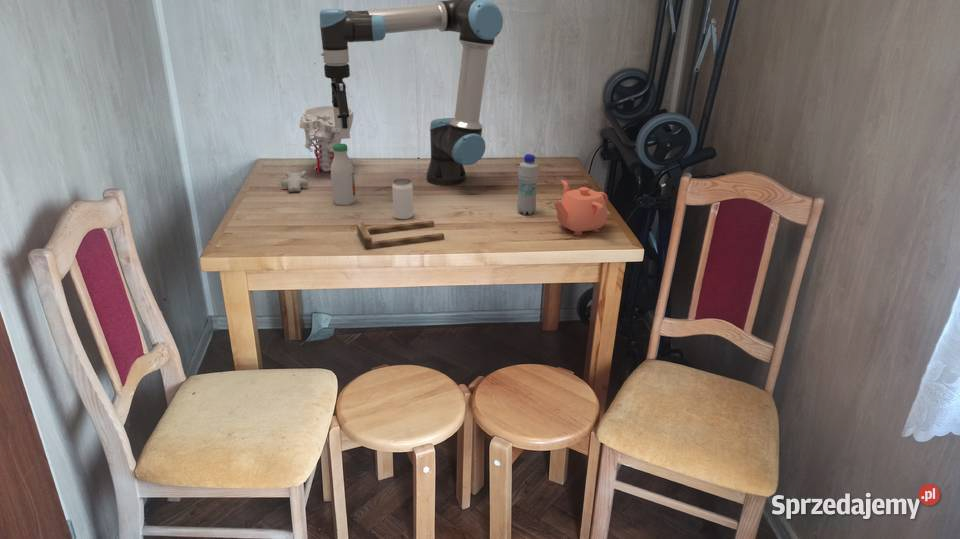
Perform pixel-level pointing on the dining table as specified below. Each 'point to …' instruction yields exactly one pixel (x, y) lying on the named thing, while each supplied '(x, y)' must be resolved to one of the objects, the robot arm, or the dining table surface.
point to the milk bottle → (342, 177)
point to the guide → (367, 239)
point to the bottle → (527, 185)
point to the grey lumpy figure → (295, 181)
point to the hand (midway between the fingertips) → (342, 133)
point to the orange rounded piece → (581, 209)
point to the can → (402, 199)
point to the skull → (322, 133)
